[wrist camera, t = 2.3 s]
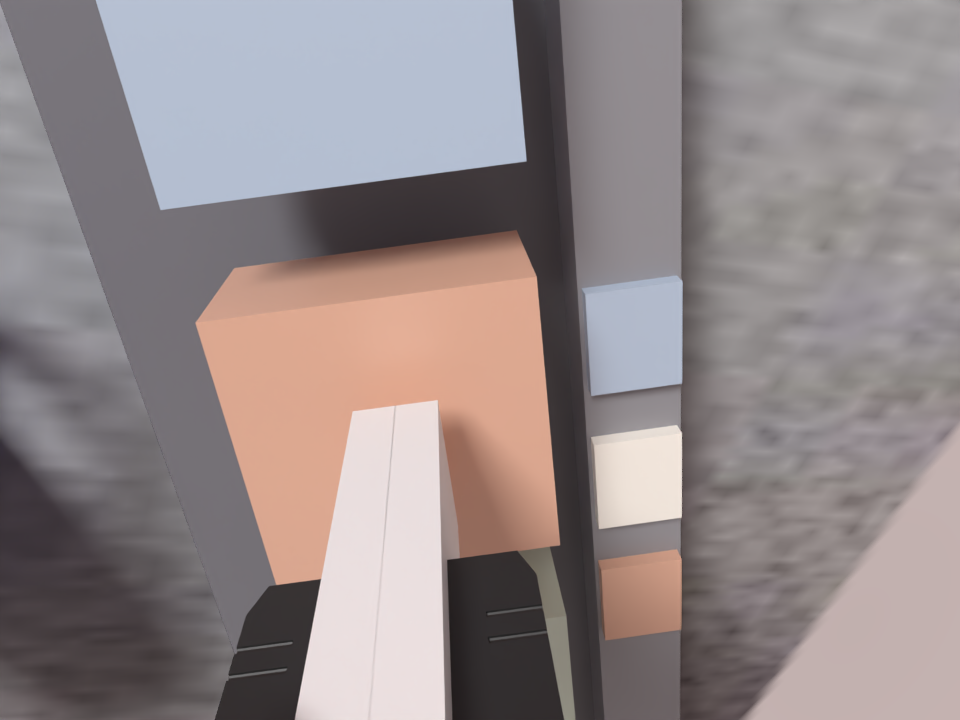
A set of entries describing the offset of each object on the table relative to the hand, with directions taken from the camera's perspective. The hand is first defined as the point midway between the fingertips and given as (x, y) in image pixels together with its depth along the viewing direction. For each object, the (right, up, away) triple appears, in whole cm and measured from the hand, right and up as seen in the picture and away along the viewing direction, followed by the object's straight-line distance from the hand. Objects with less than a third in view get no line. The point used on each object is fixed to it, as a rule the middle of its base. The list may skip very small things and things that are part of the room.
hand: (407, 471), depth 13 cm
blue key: (-2, +9, 0) cm, 9 cm away
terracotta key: (-1, +2, +4) cm, 4 cm away
